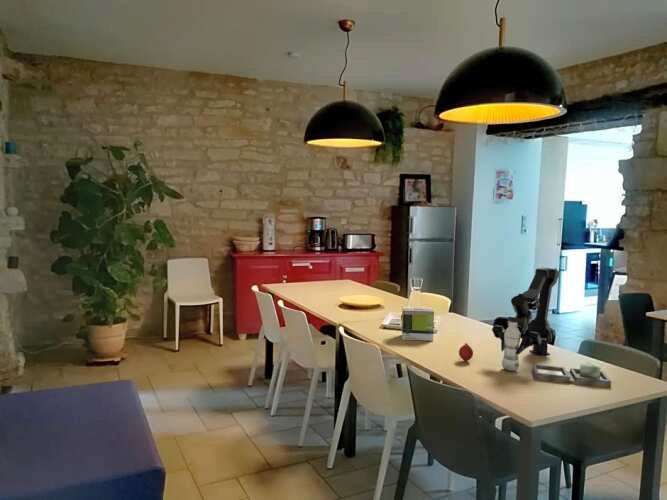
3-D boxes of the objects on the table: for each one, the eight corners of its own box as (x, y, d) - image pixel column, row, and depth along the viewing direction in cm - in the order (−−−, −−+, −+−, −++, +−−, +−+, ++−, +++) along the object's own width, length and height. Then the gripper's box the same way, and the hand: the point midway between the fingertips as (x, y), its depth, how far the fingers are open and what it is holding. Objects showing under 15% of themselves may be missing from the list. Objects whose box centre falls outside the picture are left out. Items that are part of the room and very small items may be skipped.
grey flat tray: (535, 379, 197) (536, 364, 196) (532, 370, 208) (533, 355, 208) (610, 387, 190) (611, 371, 189) (602, 377, 201) (604, 362, 201)
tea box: (431, 336, 258) (432, 307, 257) (433, 341, 248) (434, 311, 247) (401, 334, 260) (402, 306, 258) (401, 340, 250) (403, 310, 248)
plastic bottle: (514, 367, 211) (518, 319, 209) (521, 373, 204) (524, 323, 202) (499, 367, 210) (502, 319, 208) (505, 372, 204) (508, 323, 202)
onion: (462, 358, 221) (463, 340, 221) (474, 361, 218) (475, 342, 217) (456, 361, 217) (457, 342, 216) (468, 364, 213) (469, 345, 213)
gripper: (495, 305, 214) (482, 336, 207) (540, 312, 202) (528, 345, 195) (501, 321, 221) (489, 351, 213) (546, 329, 209) (534, 361, 201)
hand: (509, 352), depth 206 cm, fingers closed on plastic bottle, 6 cm apart
